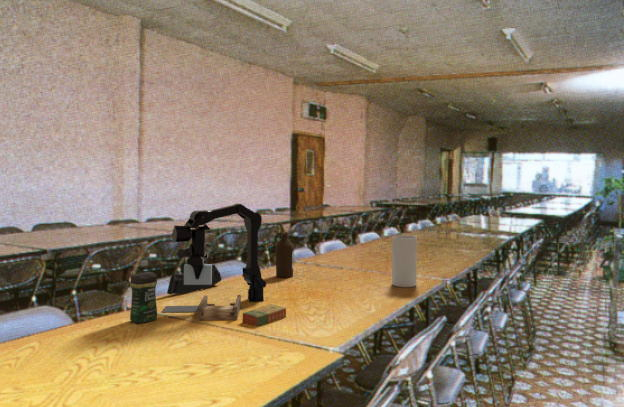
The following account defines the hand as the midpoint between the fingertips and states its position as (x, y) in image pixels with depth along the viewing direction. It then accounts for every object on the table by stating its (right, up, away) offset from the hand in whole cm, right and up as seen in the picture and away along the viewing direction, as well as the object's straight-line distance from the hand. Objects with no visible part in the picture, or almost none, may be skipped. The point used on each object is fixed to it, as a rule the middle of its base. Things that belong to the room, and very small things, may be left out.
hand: (197, 278), depth 197 cm
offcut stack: (+11, -14, -9) cm, 19 cm away
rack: (+10, -13, -5) cm, 17 cm away
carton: (+29, -15, -13) cm, 35 cm away
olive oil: (+32, -10, +67) cm, 75 cm away
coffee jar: (-17, -14, -15) cm, 27 cm away
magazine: (-9, -12, +34) cm, 37 cm away
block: (0, -2, 0) cm, 2 cm away
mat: (-6, -13, +1) cm, 15 cm away
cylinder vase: (+95, -11, +48) cm, 107 cm away
